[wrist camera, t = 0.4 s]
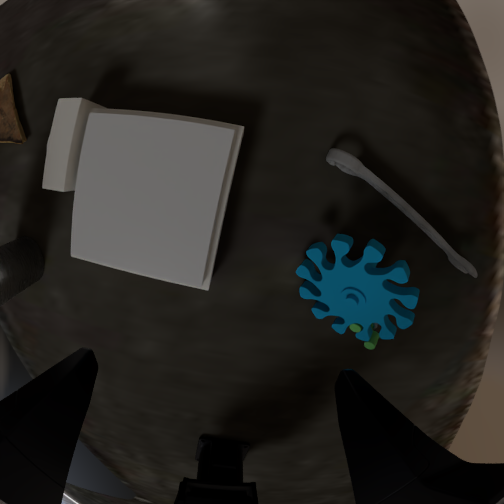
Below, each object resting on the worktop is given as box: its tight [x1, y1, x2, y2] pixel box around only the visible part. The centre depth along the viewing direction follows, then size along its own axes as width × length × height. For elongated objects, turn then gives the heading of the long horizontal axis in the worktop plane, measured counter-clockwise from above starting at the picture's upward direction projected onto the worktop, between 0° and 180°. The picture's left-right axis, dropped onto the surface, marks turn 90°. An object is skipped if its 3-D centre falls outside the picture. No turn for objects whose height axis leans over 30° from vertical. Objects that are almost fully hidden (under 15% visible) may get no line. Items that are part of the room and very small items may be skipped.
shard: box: [0, 74, 27, 144], centre depth 17 cm, size 11×8×2 cm
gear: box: [296, 234, 420, 350], centre depth 21 cm, size 11×6×10 cm
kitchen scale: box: [42, 98, 244, 290], centre depth 18 cm, size 12×15×4 cm
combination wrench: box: [326, 148, 478, 278], centre depth 21 cm, size 4×1×20 cm
